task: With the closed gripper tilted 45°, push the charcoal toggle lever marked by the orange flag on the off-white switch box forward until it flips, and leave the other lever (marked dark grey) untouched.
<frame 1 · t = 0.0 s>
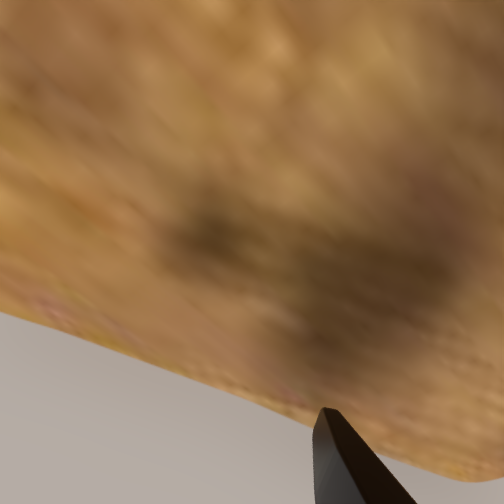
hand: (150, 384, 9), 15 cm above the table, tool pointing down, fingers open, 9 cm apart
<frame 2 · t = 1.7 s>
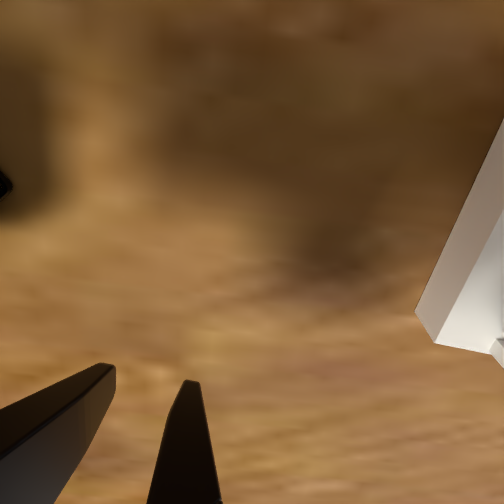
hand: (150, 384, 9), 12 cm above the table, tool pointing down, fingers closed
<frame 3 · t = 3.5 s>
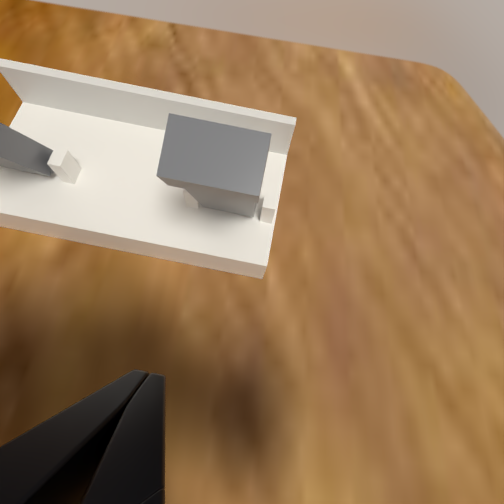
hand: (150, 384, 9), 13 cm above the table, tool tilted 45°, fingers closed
switch box: (148, 197, 25), on the table
lever flagged: (225, 185, 16), point 8 cm above the table, hinge at -20.0°
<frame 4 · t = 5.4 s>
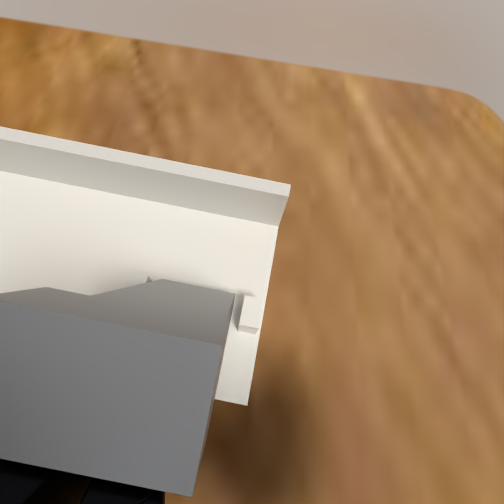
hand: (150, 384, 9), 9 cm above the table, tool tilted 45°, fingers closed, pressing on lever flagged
switch box: (90, 278, 18), on the table
lever flagged: (169, 325, 10), point 8 cm above the table, hinge at -20.0°, touching gripper
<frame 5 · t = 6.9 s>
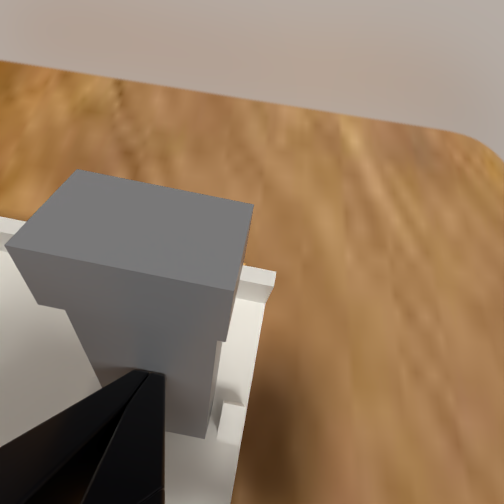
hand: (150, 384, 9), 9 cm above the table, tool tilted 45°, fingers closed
switch box: (60, 354, 17), on the table
lever flagged: (161, 353, 9), point 8 cm above the table, hinge at 22.7°
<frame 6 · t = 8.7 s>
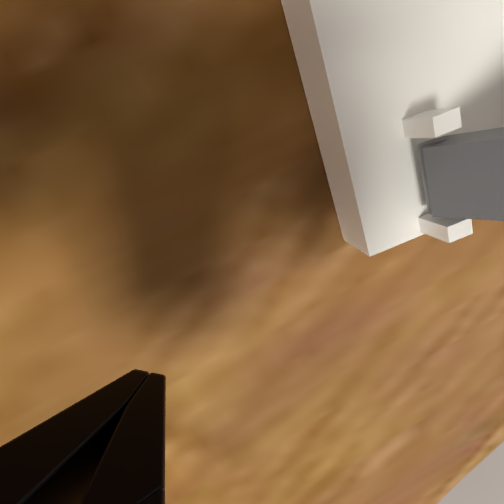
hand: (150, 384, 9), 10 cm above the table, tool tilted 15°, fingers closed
switch box: (381, 36, 16), on the table
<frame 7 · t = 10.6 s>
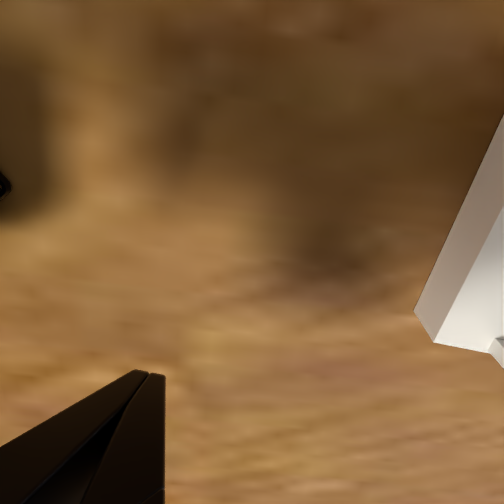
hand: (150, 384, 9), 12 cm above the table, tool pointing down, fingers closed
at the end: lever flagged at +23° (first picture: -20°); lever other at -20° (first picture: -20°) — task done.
